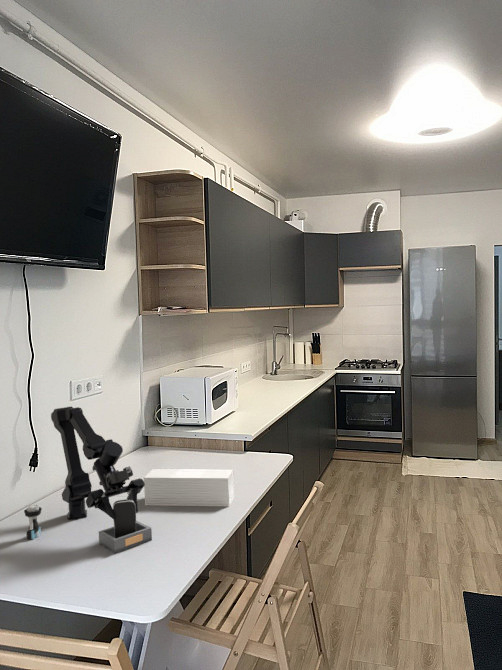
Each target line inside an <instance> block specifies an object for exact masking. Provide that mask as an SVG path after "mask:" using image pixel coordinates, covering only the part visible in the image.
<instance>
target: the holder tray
mask: <svg viewBox="0 0 502 670" xmlns="http://www.w3.org/2000/svg"><path fill="white" fill-rule="evenodd" d="M152 530H153V529H152V527H150V526H148V525H147V524H144V523H143V522H141V521H138V520H136V532H134V533H131V534H128V535H125V536H122V537H119V538H115V531H114V526H112V527H109V528H108V527H107V528H105V529H102V530H99V531H98V544H99V545H101V546H102V547H104V548H105V549H107V550H109V551H110V552H112V553H114V554H117V553H120V552H123V551H126V550H129V549H133V548H135V547H137V546H141V545H143V544H146V543H148V542H151V541H153V537H152V536H153V535H152V534H153V533H152V532H153V531H152Z"/></svg>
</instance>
